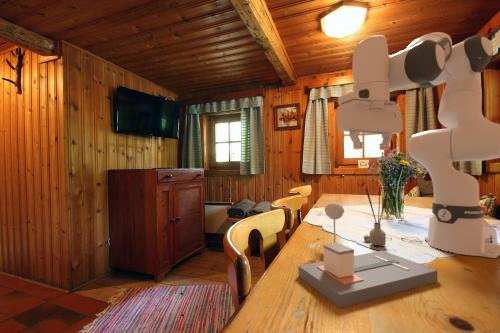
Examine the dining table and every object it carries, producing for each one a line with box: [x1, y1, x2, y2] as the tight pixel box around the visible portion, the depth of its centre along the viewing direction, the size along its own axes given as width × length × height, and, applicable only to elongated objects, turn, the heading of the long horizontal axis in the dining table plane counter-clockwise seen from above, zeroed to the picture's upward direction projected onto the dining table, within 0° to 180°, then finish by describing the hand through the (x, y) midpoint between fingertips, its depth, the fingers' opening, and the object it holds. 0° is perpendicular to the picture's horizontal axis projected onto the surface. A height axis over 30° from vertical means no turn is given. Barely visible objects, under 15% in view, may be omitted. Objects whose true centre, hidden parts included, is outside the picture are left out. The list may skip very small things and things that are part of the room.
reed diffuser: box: [363, 186, 389, 247], centre depth 79 cm, size 10×7×20 cm
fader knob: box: [323, 242, 355, 278], centre depth 52 cm, size 4×5×5 cm
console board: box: [297, 250, 439, 309], centre depth 55 cm, size 28×14×3 cm, turn 111°
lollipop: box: [324, 201, 345, 243], centre depth 78 cm, size 6×6×15 cm
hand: (371, 149), depth 63 cm, fingers open, 8 cm apart
